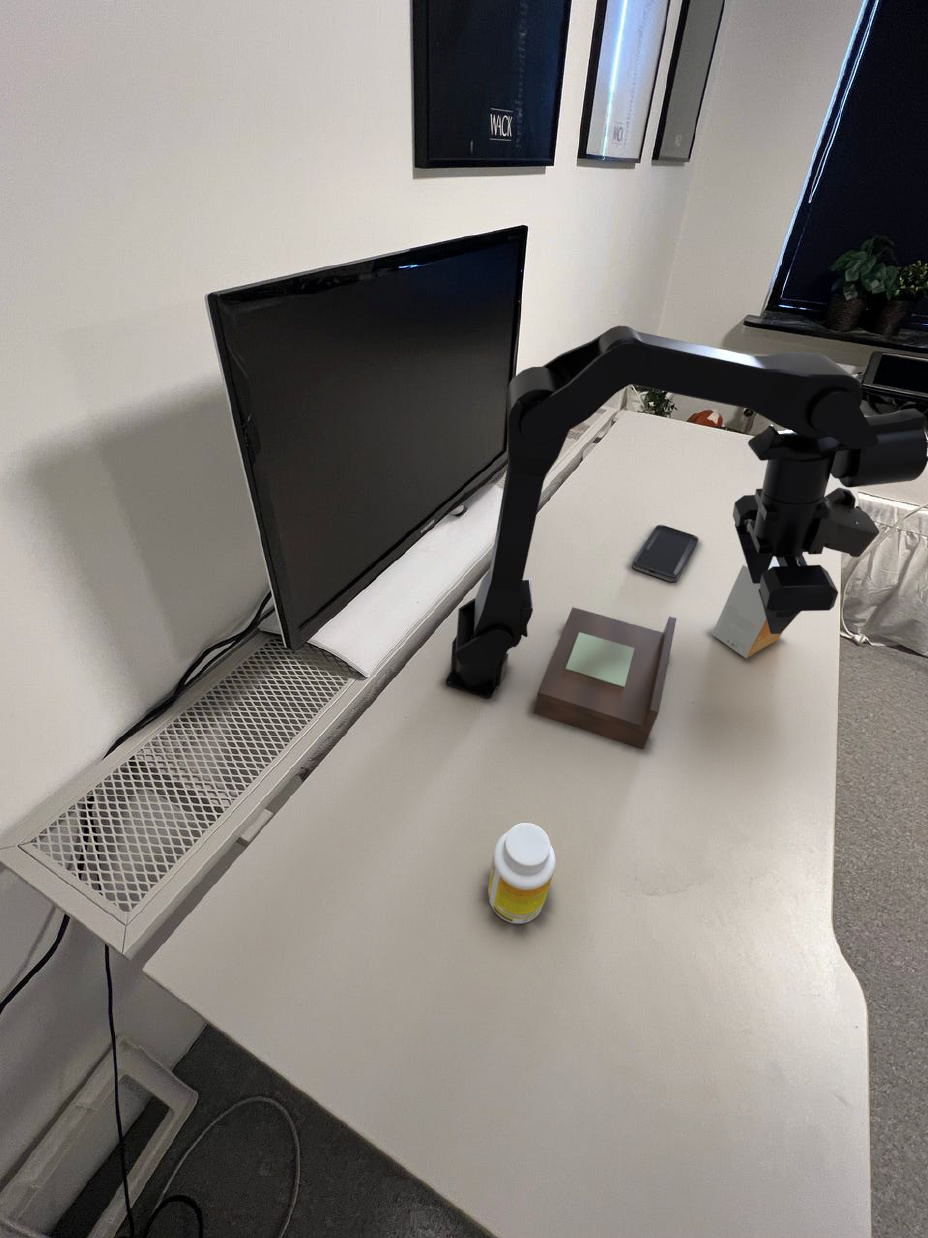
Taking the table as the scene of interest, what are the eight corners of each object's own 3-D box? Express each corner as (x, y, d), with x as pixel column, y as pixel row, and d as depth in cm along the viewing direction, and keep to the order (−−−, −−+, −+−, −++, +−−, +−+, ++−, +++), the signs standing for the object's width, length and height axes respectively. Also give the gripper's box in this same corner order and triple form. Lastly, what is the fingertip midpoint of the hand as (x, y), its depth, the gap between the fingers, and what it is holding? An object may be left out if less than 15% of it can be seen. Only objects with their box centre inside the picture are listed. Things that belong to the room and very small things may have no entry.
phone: (700, 536, 107) (677, 578, 97) (698, 542, 108) (675, 583, 98) (657, 523, 110) (630, 562, 100) (655, 528, 111) (629, 567, 101)
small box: (746, 660, 85) (782, 588, 76) (710, 634, 89) (741, 563, 80) (779, 640, 89) (818, 570, 80) (744, 616, 92) (777, 547, 84)
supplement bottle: (553, 914, 57) (571, 863, 50) (500, 934, 55) (511, 884, 49) (529, 861, 61) (542, 806, 54) (478, 878, 59) (486, 824, 52)
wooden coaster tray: (533, 713, 76) (540, 675, 71) (567, 627, 88) (576, 590, 84) (643, 749, 72) (658, 712, 68) (662, 654, 85) (676, 617, 80)
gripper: (922, 537, 52) (870, 662, 62) (849, 442, 66) (816, 557, 76) (783, 543, 54) (755, 663, 64) (741, 450, 68) (723, 561, 78)
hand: (765, 606), depth 70 cm, fingers open, 9 cm apart
